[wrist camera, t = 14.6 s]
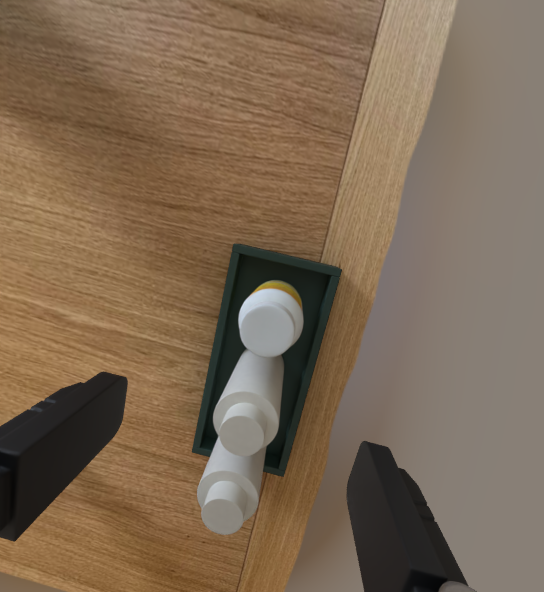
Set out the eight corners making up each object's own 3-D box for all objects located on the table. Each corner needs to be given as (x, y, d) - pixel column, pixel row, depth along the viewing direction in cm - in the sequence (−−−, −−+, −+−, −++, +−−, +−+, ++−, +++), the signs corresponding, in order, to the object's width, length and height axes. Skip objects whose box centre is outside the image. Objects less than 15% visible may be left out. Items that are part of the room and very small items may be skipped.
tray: (239, 243, 29) (233, 243, 26) (337, 266, 29) (342, 269, 26) (200, 434, 34) (191, 452, 31) (284, 456, 34) (283, 477, 31)
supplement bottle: (304, 326, 29) (308, 365, 20) (254, 331, 30) (235, 370, 20) (299, 276, 28) (300, 291, 19) (247, 281, 29) (224, 299, 20)
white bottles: (244, 338, 30) (213, 395, 19) (289, 349, 30) (284, 414, 19) (223, 433, 33) (184, 534, 21) (264, 444, 32) (247, 552, 21)
